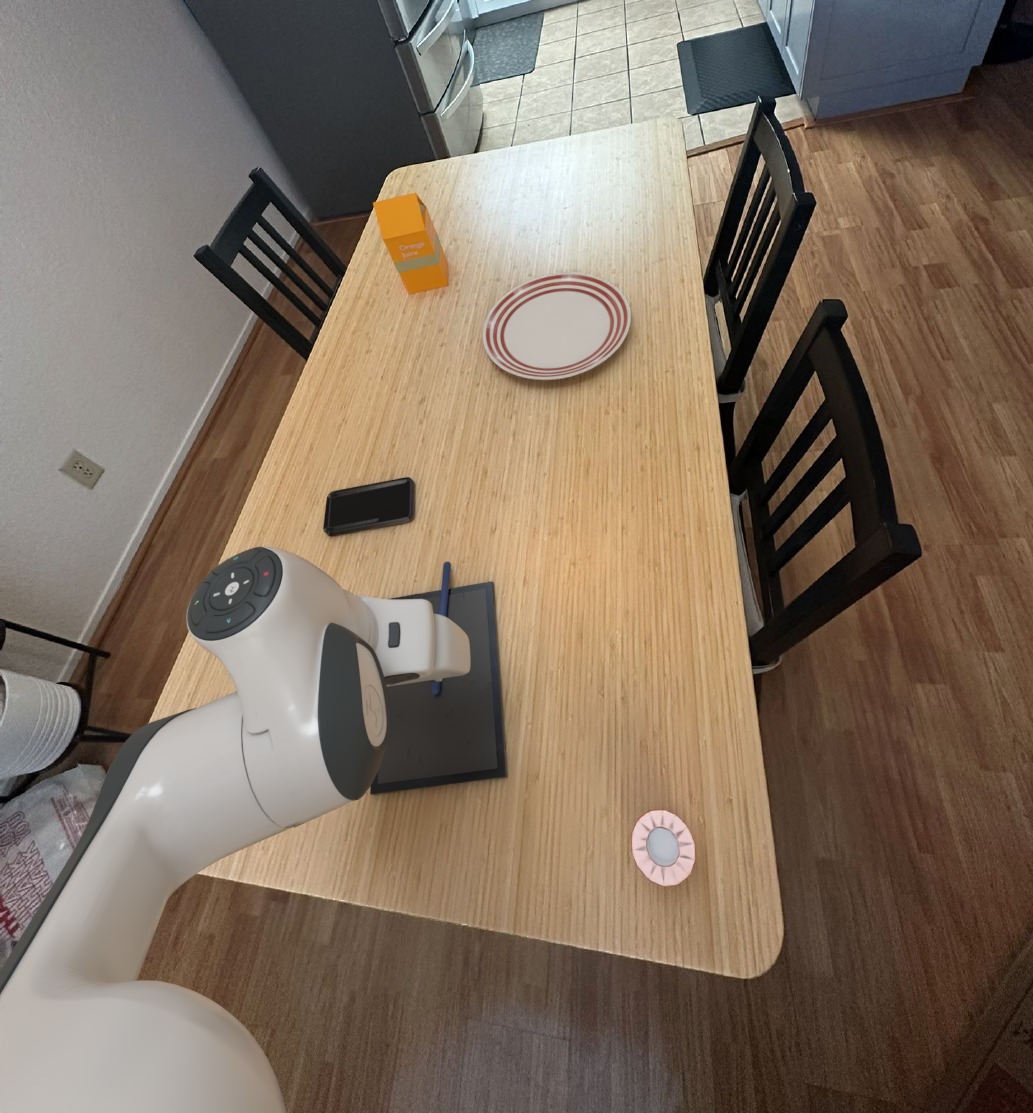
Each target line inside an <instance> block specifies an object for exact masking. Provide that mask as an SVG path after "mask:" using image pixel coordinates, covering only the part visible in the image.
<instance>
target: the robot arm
mask: <svg viewBox="0 0 1033 1113" xmlns="http://www.w3.org/2000/svg"><path fill="white" fill-rule="evenodd" d="M185 618H186V619H185V620H186V627H187V630H188V632H189V634H190V636H191V637H192V638H193V640H194V641H195V642H196V643H197V644H198V645H199V646H200V647H201V648H203V649H204V650H205V651H207V652H208V653H209V654H211V655H212V656H214V657H215V658H216V659H218V660H219V661H220V663H221V664H222V666H223V667H224V669H225V670H226V673H227V674H228V675H229V678H230V679H231V681H232V683H233V685H234V688H235V691H233V692H231V693H228V694H225V695H224V696H221V697H219V698H217V699H214V700H212V701H209V702H207V703H205V704H203V705H202V704H201V705H200V706H197V707H194V708H190V709H186V710H184V711H180V712H178V713H174V714H172V715H169V716H166V717H163V718H160V719H156V720H153V721H151V722H148V723H146V724H144V725H142V726H141V727H139V728H138V729H137V730H135V732H134V731H133V733H132V734H131V735H130V736H129V737H128V738H127V739H126V740H125V742H124V743H123V744H122V745H121V747H120V748H119V749H118V751H117V753H116V755H115V756H114V758H113V760H112V762H111V764H110V765H109V768H108V770H107V772H106V774H105V777H104V779H103V781H102V784H101V786H100V789H99V792H98V795H97V798H96V801H95V803H94V807H93V809H92V812H91V815H90V816H89V819H88V822H87V823H86V826H85V828H84V831H83V832H82V834H81V836H80V837H79V840H78V842H77V844H76V846H75V847H74V849H73V851H72V853H71V854H70V856H69V858H68V859H67V861H66V862H65V864H64V866H63V867H62V869H61V871H60V872H59V874H58V876H57V877H56V878H55V880H54V882H53V883H52V885H51V887H50V888H49V890H48V892H47V894H46V895H45V896H44V899H43V900H42V901H41V903H40V904H39V906H38V908H37V910H36V911H35V913H34V915H33V916H32V917H31V919H30V921H29V923H28V924H27V926H26V927H25V929H24V931H23V932H22V934H21V935H20V938H19V939H18V941H16V944H15V945H14V947H13V949H12V951H11V952H10V954H9V955H8V957H7V958H6V960H5V962H4V963H3V965H2V966H1V968H0V1113H287V1109H286V1105H285V1102H284V1098H283V1094H282V1091H281V1088H280V1085H279V1081H278V1078H277V1076H276V1074H275V1072H274V1070H273V1067H272V1066H271V1063H270V1061H269V1059H268V1057H267V1055H266V1053H265V1052H264V1050H263V1048H262V1047H261V1046H260V1044H259V1042H258V1041H257V1040H256V1038H255V1037H254V1035H253V1034H252V1033H251V1032H250V1031H249V1029H247V1027H246V1026H245V1025H244V1024H243V1023H242V1021H240V1020H239V1019H238V1018H237V1017H235V1016H234V1015H233V1014H232V1013H231V1012H230V1011H228V1010H227V1009H225V1007H223V1006H221V1005H220V1004H218V1003H217V1002H215V1001H214V1000H212V999H211V998H209V997H207V996H205V995H204V994H201V993H199V992H197V991H195V990H193V989H190V988H187V987H185V986H181V985H178V984H176V983H171V982H167V981H161V980H150V979H149V980H148V979H147V980H146V979H145V980H143V979H139V976H140V973H141V971H142V968H143V966H144V963H145V960H146V957H147V956H148V954H149V950H150V948H151V944H152V942H153V939H154V937H155V934H156V931H157V928H158V926H159V923H160V921H161V918H162V916H163V913H164V910H165V908H166V905H167V903H168V900H169V898H170V897H171V896H172V895H173V893H175V892H176V891H177V890H178V889H179V888H180V887H182V885H184V883H186V882H187V881H189V880H190V879H191V878H193V877H194V876H196V875H197V874H199V873H200V872H202V871H203V870H205V869H207V868H208V867H210V866H212V865H213V864H214V863H216V862H218V861H220V860H222V859H225V858H226V857H228V856H231V855H233V854H235V853H237V852H239V851H242V850H245V849H246V848H249V847H251V846H253V845H256V844H258V843H260V842H262V841H264V840H267V839H269V838H271V837H274V836H276V835H279V834H280V833H283V832H285V831H288V830H290V829H292V828H297V827H299V826H301V825H304V824H306V823H309V822H310V821H313V820H315V819H318V818H320V817H322V816H324V815H326V814H329V813H331V812H333V811H335V810H338V809H339V808H342V807H344V806H347V805H348V804H350V803H352V802H354V801H358V800H360V799H362V798H363V797H364V795H365V794H366V793H367V792H368V790H370V786H371V784H372V782H373V781H374V779H375V776H376V774H377V772H378V770H379V768H380V765H381V762H382V759H383V756H384V753H385V750H386V747H387V743H388V740H389V736H390V731H391V710H390V702H389V695H388V690H387V687H388V686H395V685H402V684H408V683H415V682H422V681H426V682H428V683H432V682H439V681H442V678H448V677H455V676H462V675H465V674H467V673H468V672H469V670H470V644H469V638H468V636H467V634H466V633H465V632H464V631H463V630H462V629H461V628H460V627H459V626H458V625H456V624H455V623H454V622H453V621H451V620H450V619H449V618H447V617H445V616H442V615H439V614H433V608H432V604H431V603H430V602H429V601H427V600H424V599H390V598H379V597H374V596H368V595H360V594H359V595H356V594H354V593H353V592H351V591H349V590H347V589H345V588H343V587H342V586H341V585H340V584H339V582H337V580H336V579H335V578H333V577H332V576H331V575H329V574H328V573H327V572H326V571H324V570H322V569H321V568H320V567H319V566H318V565H316V564H314V563H312V562H311V561H309V560H307V559H306V558H304V557H302V556H300V555H298V554H296V553H294V552H292V551H289V550H286V549H283V548H279V547H274V546H256V547H252V548H248V549H246V550H244V551H241V552H239V553H236V554H234V555H233V556H231V557H229V558H227V559H225V560H224V561H222V562H221V563H220V564H218V565H216V566H215V567H214V568H213V569H212V570H211V571H209V573H208V574H206V576H205V577H204V578H203V579H202V581H200V583H199V585H198V586H197V587H196V589H195V591H194V592H193V594H192V596H191V598H190V600H189V603H188V606H187V610H186V617H185ZM138 979H139V980H138Z"/></svg>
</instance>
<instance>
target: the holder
mask: <svg viewBox="0 0 1033 1113" xmlns="http://www.w3.org/2000/svg"><path fill="white" fill-rule="evenodd" d="M630 839H631V840H630V847H631V848H630V850H631V854H632V857H633V859H634V862H635V865H636V867H637V869H638V871H640V872H641V873H642V874H643V876H644V877H645V878H646V879H647V881H649V882H652V883H653V884H656V885H658V886H660V887H664V888H668V887H677V886H680V884H682V883H683V882H684V881H686V880H687V879H688V878H690V876H691V875H692V871H693V870H694V867H695V864H696V861H697V860H696V859H697V858H696V841H695V839H694V837H693V835H692V832H691V830H690V827H689V826H688V824H686V823H685V821H683V819H682V818H681V817H680V816H679V815H678V814H676V813H674V812H671V811H670V810H667V809H665V808H658V809H657V808H656V809H649V810H647V811H646V812H645V813H644V814H642V815H640V816H639V817H638V819H637V820H636V822H635V824H634V827H633V828H632V831H631V836H630Z"/></svg>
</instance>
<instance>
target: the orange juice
mask: <svg viewBox="0 0 1033 1113" xmlns="http://www.w3.org/2000/svg"><path fill="white" fill-rule="evenodd" d="M372 205H373V209H374V213H375V216H376V220H377V223H378V227H379V232H380V234H381V238H382V239H381V240H382V241H383V243H384V245H385V247H386V249H387V252H388V253H389V256H390V258H391V259H392V262H393V265H394V266H395V268H396V271H397V273H398V274H399V276H400V278H401V280H402V283H403V285H404V287H405V289H406V290H407V293H408V295H413V294H417V293H422V292H426V291H431V290H432V291H433V290H436V289H441V288H445V287H448V286H449V263H448V260H447V257H446V254H445V251H444V248H443V246H442V243H441V240H440V238H439V235H438V233H437V229H436V228H435V225H434V223H433V219H432V217H431V214H430V212H429V209H428V206H427V205H425V204H424V201H423V200H422V199H421V198H420V196H418V193H417V192H411V193H408V194H403V195H399V196H395V197H390V198H386V199H382V200H377V201H373V202H372Z"/></svg>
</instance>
